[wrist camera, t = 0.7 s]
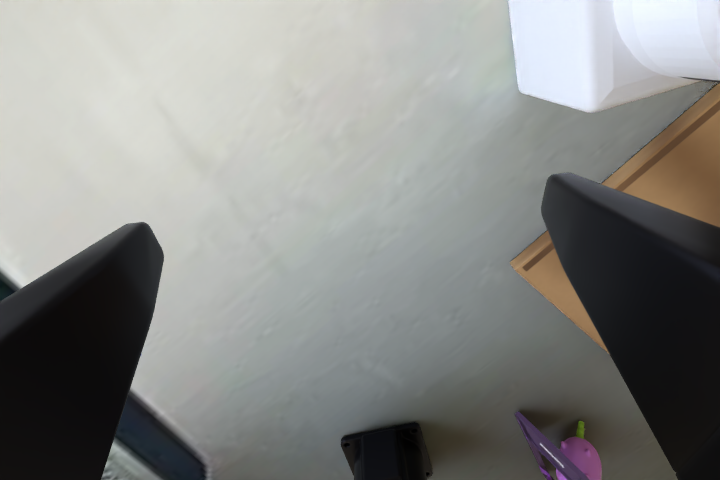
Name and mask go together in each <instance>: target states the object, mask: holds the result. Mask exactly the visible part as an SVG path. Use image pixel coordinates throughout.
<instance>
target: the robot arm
mask: <svg viewBox="0 0 720 480" xmlns="http://www.w3.org/2000/svg"><path fill="white" fill-rule="evenodd" d="M541 213H542V217H543V220H544V222H545V225H546V227H547V230H548V232H549V235H550V237H551V240H552V242H553V245H554V247H555V250H556V252H557V255H558V257H559V260H560V262H561V265H562V267H563V269H564V271H565V273H566V275H567V277H568V279H569V281H570V283H571V285H572V286H573V288H574V290H575V292H576V294H577V296H578V297H579V299H580V301H581V303H582V305H583V306H584V308H585V310H586V312H587V314H588V316H589V317H590V319H591V321H592V323H593V325H594V326H595V328H596V330H597V332H598V334H599V336H600V337H601V339H602V341H603V343H604V345H605V346H606V348H607V350H608V352H609V354H610V356H611V357H612V359H613V361H614V363H615V365H616V366H617V368H618V370H619V372H620V374H621V376H622V377H623V379H624V381H625V383H626V385H627V386H628V388H629V390H630V392H631V394H632V396H633V397H634V399H635V401H636V403H637V405H638V406H639V408H640V410H641V412H642V414H643V416H644V417H645V419H646V421H647V423H648V425H649V426H650V428H651V430H652V432H653V434H654V436H655V437H656V439H657V441H658V443H659V445H660V446H661V448H662V450H663V452H664V454H665V456H666V457H667V459H668V461H669V463H670V465H671V467H672V468H673V470H674V471H675V472H677V473H676V476H677V478H678V480H720V227H717V226H714V225H712V224H709V223H706V222H704V221H701V220H698V219H695V218H693V217H690V216H687V215H684V214H682V213H679V212H676V211H673V210H671V209H668V208H665V207H662V206H660V205H657V204H654V203H651V202H649V201H646V200H643V199H641V198H638V197H635V196H632V195H630V194H627V193H624V192H621V191H619V190H616V189H613V188H610V187H608V186H605V185H602V184H599V183H597V182H594V181H591V180H589V179H586V178H583V177H580V176H578V175H575V174H572V173H560V174H553V175H551V176H550V177H549V178H548V180H547V183H546V187H545V192H544V196H543V201H542V206H541ZM163 261H164V255H163V251H162V248H161V246H160V244H159V243H158V241H157V239H156V237H155V235H154V233H153V231H152V229H151V228H150V226H149V225H148V224H147V223H144V222H139V223H130V224H126V225H124V226H122V227H121V228H119V229H117V230H116V231H114V232H112V233H111V234H109V235H108V236H106V237H104V238H103V239H101V240H99V241H98V242H96V243H95V244H93V245H91V246H90V247H88V248H86V249H85V250H83V251H82V252H80V253H78V254H77V255H75V256H73V257H72V258H70V259H69V260H67V261H65V262H64V263H62V264H60V265H59V266H57V267H56V268H54V269H52V270H51V271H49V272H48V273H46V274H44V275H43V276H41V277H39V278H38V279H36V280H35V281H33V282H31V283H30V284H28V285H26V286H25V287H23V288H22V289H20V290H18V291H17V292H15V293H13V294H12V295H10V296H9V297H7V298H5V299H4V300H2V301H0V480H101V477H102V474H103V471H104V468H105V465H106V462H107V459H108V456H109V452H110V449H111V446H112V443H113V440H114V437H115V434H116V431H117V427H118V424H119V421H120V418H121V415H122V412H123V409H124V405H125V402H126V399H127V396H128V393H129V390H130V387H131V384H132V380H133V377H134V374H135V371H136V368H137V365H138V362H139V358H140V355H141V352H142V349H143V346H144V343H145V340H146V337H147V333H148V330H149V327H150V324H151V320H152V317H153V313H154V308H155V303H156V298H157V293H158V287H159V282H160V277H161V272H162V266H163ZM341 447H342V449H343V452H344V454H345V456H346V459H347V461H348V463H349V466H350V468H351V471H352V473H353V475H354V480H427V477H430V476H432V474H433V472H432V468H431V464H430V461H429V457H428V454H427V450H426V446H425V443H424V439H423V436H422V432H421V429H420V425H419V424H418V423H415V422H414V423H408V424H403V425H398V426H394V427H389V428H384V429H379V430H374V431H370V432H365V433H360V434H355V435H350V436H346V437H343V438H342V439H341Z"/></svg>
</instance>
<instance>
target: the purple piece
mask: <svg viewBox="0 0 720 480" xmlns="http://www.w3.org/2000/svg"><path fill="white" fill-rule="evenodd" d="M515 416H516V418H517V420H518V423H519V425H520V427H521V429H522V431H523V433H524V435H525V437H526V439H527V442H528V444H529V446H530V448H531V450H532V452H533V454H534V456H535V458H536V460H537V463H538V465H539V467H540V469H541V472H542V473H543V475H544V476H545V478H546V479H547V480H554V479H553V478H552V477H551V476H550V475H549V473H548V471H547V469H546V466H545V464H544V462H543V460H542V458H541V456H540V454H539V451H540V452H541V453H542V454H543V455H544V456H545V457H546V458H547V460H548V461H549V462H550V463H551V464H552V465H553V466H554V467H555V468H556V475H557V479H558V480H601V477H602V467H601V461H600V458H599V455H598V453H597V451H596V449H595V448H594V447H593V445H592V444H590V443H589V442H588V441H586V440H585V439H584V430H585V429H584V424H585V423H584V422H583V421H579V422H578V427H577V432H576V436H575V437H570V438H567V439H566V440H565V441H564V442H563V441H561V448H560V450H559V449H558V448H557V447H556V446H555V445H553V444H552V443H551V442H550V441H549V440H548V439H547V438H546V437H545V436H544V435H543V434H542V433H541V432H540V431H539V430H538V429H537V428H536V427H535V426H534V425H533V424H532V423H531V422H529V421H528V420H527V419H526V418H525V417H524V416H523V415H522V414H521V413H520V412H519V411H518V412H517V413H515ZM538 450H539V451H538Z"/></svg>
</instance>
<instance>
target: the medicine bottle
mask: <svg viewBox="0 0 720 480" xmlns="http://www.w3.org/2000/svg"><path fill="white" fill-rule="evenodd" d="M508 4H509V13H510V21H511V30H512V38H513V47H514V55H515V64H516V72H517V81H518V88H519V91H520V92H521V93H522V94H525V95H529V96H532V97H536V98H539V99H543V100H546V101H549V102H553V103H556V104H560V105H563V106H567V107H570V108H574V109H577V110H581V111H584V112H588V113H595V112H599V111H602V110H606V109H609V108H612V107H616V106H619V105H622V104H626V103H629V102H632V101H636V100H639V99H643V98H646V97H649V96H653V95H656V94H659V93H663V92H666V91H669V90H673V89H676V88H679V87H683V86H686V85H689V84H693V83H696V82H699V81H712V82H720V0H508Z"/></svg>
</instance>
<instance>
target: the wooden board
mask: <svg viewBox="0 0 720 480" xmlns="http://www.w3.org/2000/svg"><path fill="white" fill-rule="evenodd" d="M602 185H605V186H608V187H610V188H613V189H616V190H619V191H621V192H624V193H627V194H630V195H632V196H635V197H638V198H641V199H643V200H646V201H649V202H651V203H654V204H657V205H660V206H662V207H665V208H668V209H671V210H673V211H676V212H679V213H682V214H684V215H687V216H690V217H693V218H695V219H698V220H701V221H704V222H706V223H709V224H712V225H714V226H717V227H720V82H719V83H718V84H717V85H716V86H715V87H714V88H712V89H711V90H710V91H709V92H708V93H707V94H705V95H704V96H703V97H702V98H701V99H700V100H698V101H697V102H696V103H695V104H694V105H693V106H691V107H690V108H689V109H688V110H687V111H686V112H684V113H683V114H682V115H681V116H680V117H679V118H678V119H676V120H675V121H674V122H673V123H672V124H671V125H669V126H668V127H667V128H666V129H665V130H664V131H662V132H661V133H660V134H659V135H658V136H657V137H655V138H654V139H653V140H652V141H651V142H650V143H648V144H647V145H646V146H645V147H644V148H643V149H641V150H640V151H639V152H638V153H637V154H636V155H634V156H633V157H632V158H631V159H630V160H629V161H627V162H626V163H625V164H624V165H623V166H622V167H620V168H619V169H618V170H617V171H616V172H615V173H613V174H612V175H611V176H610V177H609V178H608V179H607V180H605V181H604V182H603V183H602ZM510 264H511V265H512V267H513V268H514V269H515V271H516V272H518V273H519V274H520V275H521V276H522V277H523V278H524V279H525V280H527V281H528V282H529V283H530V284H531V285H532V286H533V287H534V288H536V289H537V290H538V291H539V292H540V293H541V294H542V295H543V296H545V297H546V298H547V299H548V300H549V301H550V302H551V303H552V304H554V305H555V306H556V307H557V308H558V309H559V310H560V311H561V312H563V313H564V314H565V315H566V316H567V317H568V318H569V319H570V320H572V321H573V322H574V323H575V324H576V325H577V326H578V327H579V328H581V329H582V330H583V331H584V332H585V333H586V334H587V335H588V336H590V337H591V338H592V339H593V340H594V341H595V342H596V343H597V344H599V345H600V346H601V347H602V348H603V349H604V350H605V351H606V352H608V350H607V348H606V346H605V345H604V343H603V341H602V339H601V337H600V336H599V334H598V332H597V330H596V328H595V326H594V325H593V323H592V321H591V319H590V317H589V316H588V314H587V312H586V310H585V308H584V306H583V305H582V303H581V301H580V299H579V297H578V296H577V294H576V292H575V290H574V288H573V286H572V285H571V283H570V281H569V279H568V277H567V275H566V273H565V271H564V269H563V267H562V265H561V262H560V260H559V257H558V255H557V252H556V250H555V247H554V245H553V242H552V240H551V237H550V235H549V232H548V230H547V231H546V232H545V233H544V234H542V235H541V236H540V237H539V238H538V239H537V240H536V241H534V242H533V243H532V244H531V245H530V246H529V247H527V248H526V249H525V250H524V251H523V252H522V253H520V254H519V255H518V256H517V257H516V258H515V259H513V260H512V261H511V262H510ZM608 353H609V352H608Z"/></svg>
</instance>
